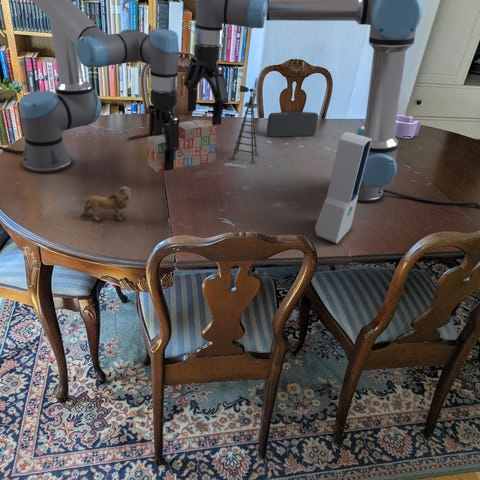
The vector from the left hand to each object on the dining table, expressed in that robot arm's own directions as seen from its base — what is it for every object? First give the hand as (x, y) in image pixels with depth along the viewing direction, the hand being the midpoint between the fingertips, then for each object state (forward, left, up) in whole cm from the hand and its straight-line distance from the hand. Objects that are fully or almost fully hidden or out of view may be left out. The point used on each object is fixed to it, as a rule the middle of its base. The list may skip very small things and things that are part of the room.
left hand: (163, 165), depth 144 cm
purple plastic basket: (+88, +91, -10) cm, 127 cm away
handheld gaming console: (+39, +70, -10) cm, 81 cm away
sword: (-14, +51, -10) cm, 54 cm away
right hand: (+10, +10, +13) cm, 19 cm away
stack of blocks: (+5, +5, -1) cm, 7 cm away
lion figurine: (-11, -18, -10) cm, 23 cm away
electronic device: (+54, -9, -10) cm, 55 cm away
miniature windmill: (+22, +39, -10) cm, 46 cm away
